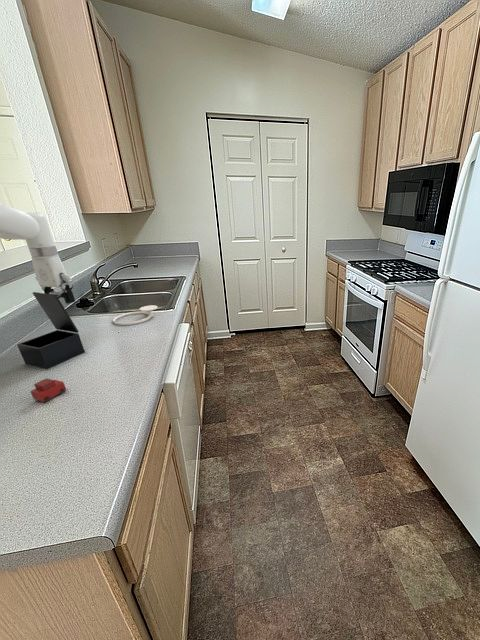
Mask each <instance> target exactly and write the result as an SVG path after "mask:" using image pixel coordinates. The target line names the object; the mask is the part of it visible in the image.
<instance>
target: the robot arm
mask: <svg viewBox="0 0 480 640" xmlns="http://www.w3.org/2000/svg"><path fill="white" fill-rule="evenodd" d="M0 239H3V240H20V241H21V240H22V241H23V240H24V241H25V243H26V245H27V248H28V251H29V253H30V256H31V263H32V268H33V271H34V275H35V280H36V281H37V283H38V285H39V286H40V287H41V290H42V291H43V293H46V294H49V293H50V292H51V291H53V292H55V290H54V289H55V288H59V289H60V290H61V292H62V293H63V296H64V298H63V299H64V302H65V304H67V305H68V304H72V303H75V302H76V298H75V296H74V292H73V287H74V285H73V279H72V278H70V277H69V276H68V274H67V271H66V268H65V266H64V264H63V262H62V260H61V258H60V255H59V252H58V249H57V246H56V243H55V241H54V237H53V234H52V232H51V228H50V224H49V222H48V219H47V217H46V215H45V214H44V213H42V212H37V211H36V212H25V211H23V210H19V209H18V208H15V207H12V206H10V205H7V204H5V203H1V202H0Z"/></svg>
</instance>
